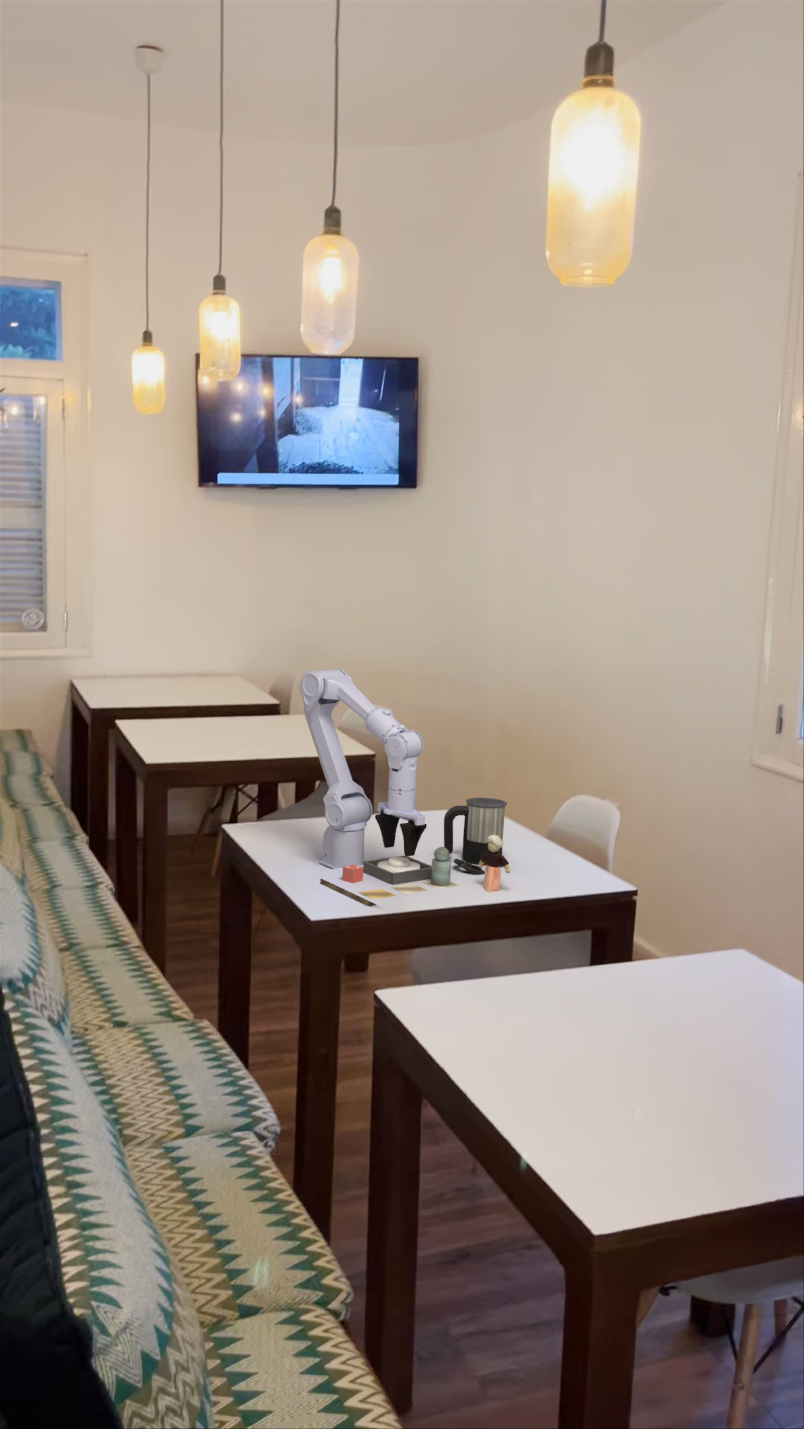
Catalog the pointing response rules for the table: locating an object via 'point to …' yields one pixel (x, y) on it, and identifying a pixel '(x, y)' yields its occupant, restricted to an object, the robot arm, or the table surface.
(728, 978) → the table surface
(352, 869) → the die
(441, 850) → the pawn
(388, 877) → the dark grey square tray
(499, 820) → the milk frother
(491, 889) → the grandmother figurine
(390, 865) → the white stepped disc
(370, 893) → the flat thin brownish pieces
